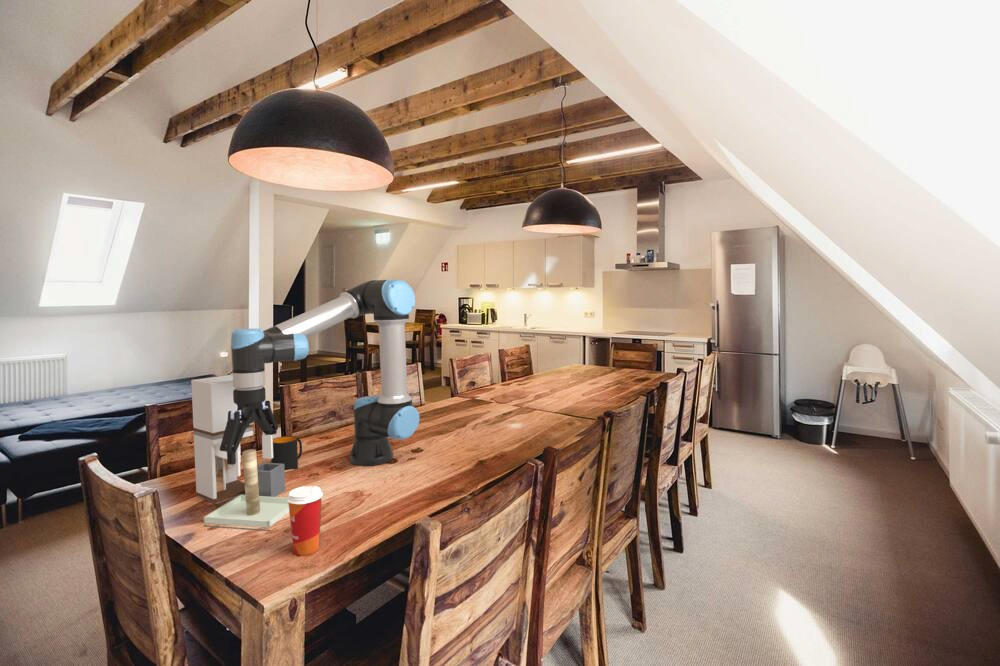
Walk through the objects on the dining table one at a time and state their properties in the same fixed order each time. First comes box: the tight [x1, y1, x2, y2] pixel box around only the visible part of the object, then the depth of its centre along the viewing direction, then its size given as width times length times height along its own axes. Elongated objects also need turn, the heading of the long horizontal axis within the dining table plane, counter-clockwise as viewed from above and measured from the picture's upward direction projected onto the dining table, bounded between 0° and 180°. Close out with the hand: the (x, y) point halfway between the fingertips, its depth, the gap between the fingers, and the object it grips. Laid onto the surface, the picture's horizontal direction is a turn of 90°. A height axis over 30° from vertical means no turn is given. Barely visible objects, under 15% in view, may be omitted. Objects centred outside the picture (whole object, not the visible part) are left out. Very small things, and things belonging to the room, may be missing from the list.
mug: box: [270, 435, 303, 471], centre depth 164 cm, size 8×12×10 cm
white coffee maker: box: [190, 374, 254, 505], centre depth 139 cm, size 11×11×35 cm
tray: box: [203, 494, 290, 532], centre depth 127 cm, size 18×14×2 cm
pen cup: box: [257, 462, 286, 497], centre depth 139 cm, size 7×7×9 cm
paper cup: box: [286, 485, 324, 557], centre depth 110 cm, size 8×8×14 cm
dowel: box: [241, 448, 260, 516], centre depth 126 cm, size 3×3×17 cm
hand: (252, 466), depth 126 cm, fingers open, 13 cm apart
